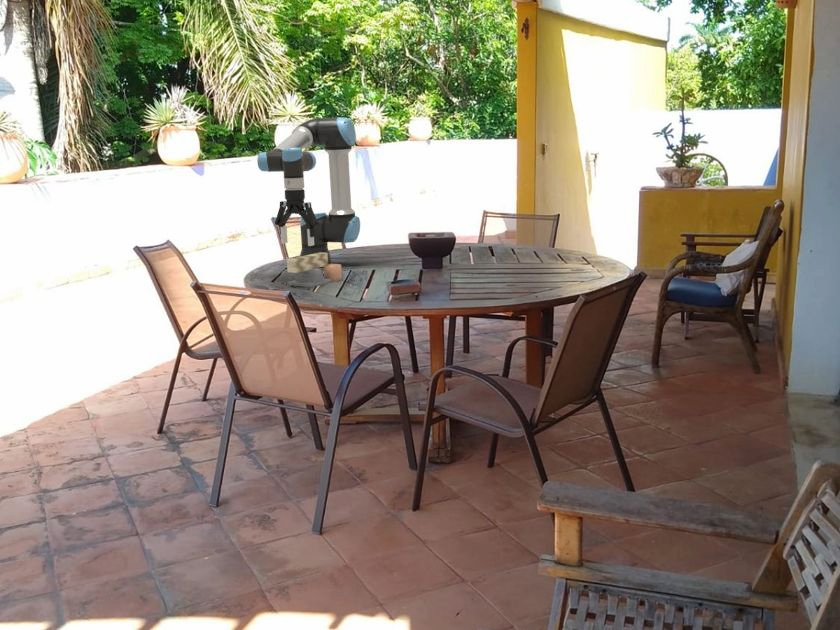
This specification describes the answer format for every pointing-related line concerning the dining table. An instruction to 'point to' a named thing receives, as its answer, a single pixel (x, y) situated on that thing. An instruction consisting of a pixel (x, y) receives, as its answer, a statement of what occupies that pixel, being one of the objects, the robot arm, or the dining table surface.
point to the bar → (307, 262)
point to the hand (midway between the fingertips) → (297, 244)
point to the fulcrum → (309, 278)
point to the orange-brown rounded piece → (333, 272)
